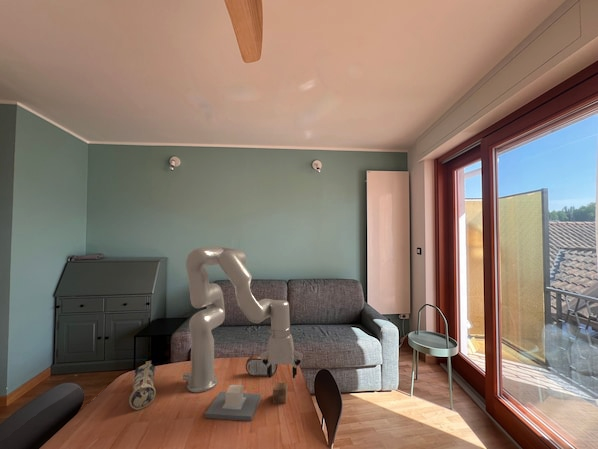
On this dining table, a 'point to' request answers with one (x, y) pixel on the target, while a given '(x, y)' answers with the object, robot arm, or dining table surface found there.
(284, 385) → the walnut block
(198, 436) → the dining table surface
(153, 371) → the pencil case
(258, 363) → the tin
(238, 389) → the off-white block
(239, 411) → the grey tray
